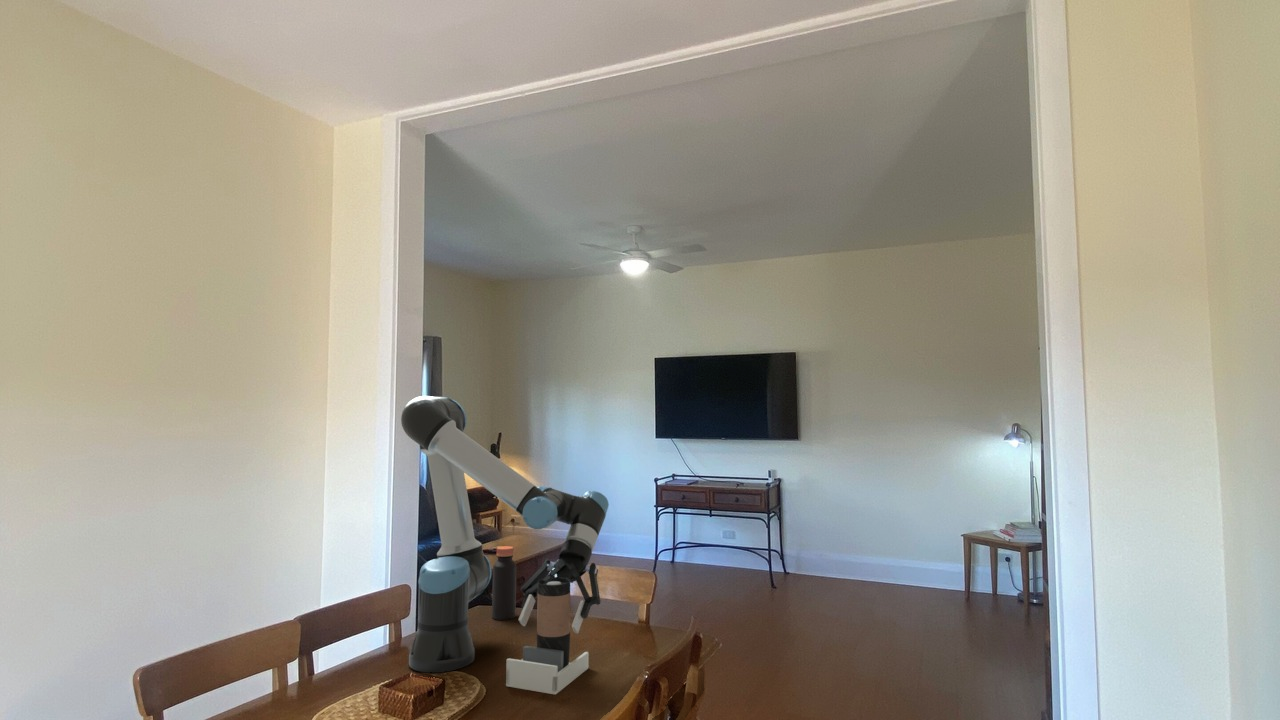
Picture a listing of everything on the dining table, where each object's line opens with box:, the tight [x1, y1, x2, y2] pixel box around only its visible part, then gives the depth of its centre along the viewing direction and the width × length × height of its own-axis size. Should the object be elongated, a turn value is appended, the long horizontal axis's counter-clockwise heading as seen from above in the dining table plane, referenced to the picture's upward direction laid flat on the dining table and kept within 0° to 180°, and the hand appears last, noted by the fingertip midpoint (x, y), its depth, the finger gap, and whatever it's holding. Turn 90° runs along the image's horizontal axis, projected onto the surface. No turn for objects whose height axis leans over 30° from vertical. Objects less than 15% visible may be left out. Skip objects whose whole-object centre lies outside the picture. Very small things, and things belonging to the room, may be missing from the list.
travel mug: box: [536, 578, 571, 668], centre depth 152 cm, size 8×8×20 cm
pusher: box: [522, 645, 564, 672], centre depth 147 cm, size 10×2×6 cm, turn 69°
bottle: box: [491, 545, 517, 621], centre depth 195 cm, size 7×7×20 cm
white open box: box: [505, 651, 590, 696], centre depth 149 cm, size 12×16×6 cm
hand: (547, 626), depth 149 cm, fingers open, 13 cm apart
